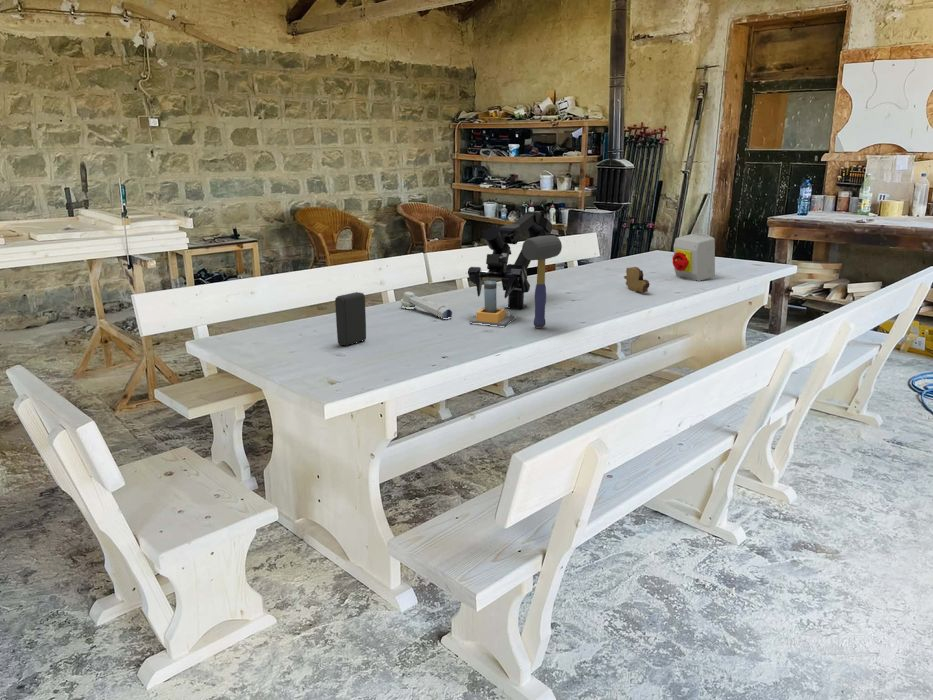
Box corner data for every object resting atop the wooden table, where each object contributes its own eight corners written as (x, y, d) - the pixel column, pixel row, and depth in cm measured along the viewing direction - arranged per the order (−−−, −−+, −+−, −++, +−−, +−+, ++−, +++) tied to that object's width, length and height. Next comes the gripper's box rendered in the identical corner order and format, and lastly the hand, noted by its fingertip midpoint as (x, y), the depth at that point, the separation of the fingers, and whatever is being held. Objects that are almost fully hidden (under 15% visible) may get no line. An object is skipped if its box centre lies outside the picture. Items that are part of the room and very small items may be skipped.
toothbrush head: (442, 310, 235) (398, 289, 251) (441, 328, 237) (397, 306, 254) (454, 307, 238) (409, 287, 255) (452, 326, 241) (408, 304, 257)
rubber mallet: (543, 322, 234) (546, 233, 225) (560, 326, 229) (564, 235, 220) (517, 329, 226) (520, 236, 217) (535, 333, 221) (538, 238, 212)
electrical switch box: (665, 281, 314) (664, 237, 307) (691, 274, 319) (690, 231, 312) (688, 287, 301) (687, 242, 294) (715, 279, 306) (714, 235, 299)
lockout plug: (483, 318, 235) (483, 280, 231) (495, 317, 235) (495, 279, 231) (485, 321, 231) (485, 282, 227) (497, 320, 231) (497, 282, 227)
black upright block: (359, 338, 215) (357, 291, 210) (368, 340, 212) (366, 292, 208) (336, 345, 208) (333, 296, 204) (345, 347, 206) (342, 297, 201)
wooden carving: (652, 295, 276) (654, 270, 273) (643, 295, 274) (645, 270, 271) (628, 287, 291) (630, 263, 288) (619, 288, 289) (621, 264, 286)
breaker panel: (482, 316, 242) (482, 304, 241) (514, 319, 238) (515, 307, 237) (469, 324, 232) (469, 311, 231) (503, 327, 228) (504, 315, 226)
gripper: (469, 243, 234) (459, 281, 227) (523, 245, 229) (515, 284, 222) (475, 262, 243) (466, 299, 236) (527, 264, 238) (520, 303, 231)
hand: (491, 296), depth 231 cm, fingers open, 9 cm apart
